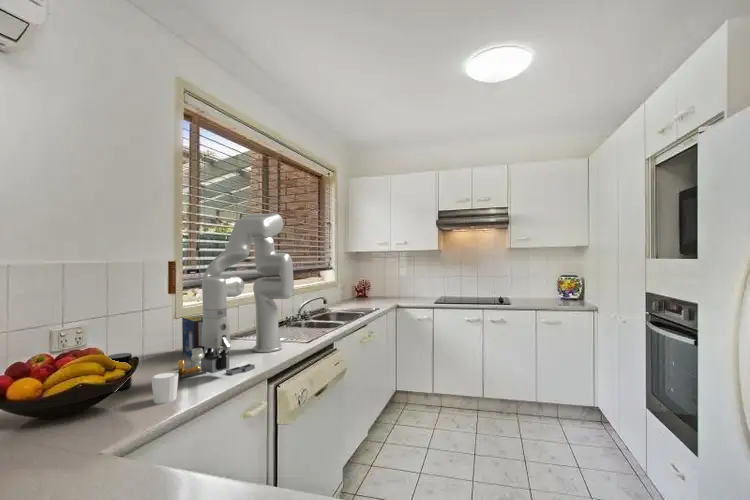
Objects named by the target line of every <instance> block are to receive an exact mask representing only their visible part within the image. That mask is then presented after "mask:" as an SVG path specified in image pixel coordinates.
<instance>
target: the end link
mask: <svg viewBox="0 0 750 500" xmlns="http://www.w3.org/2000/svg"><path fill="white" fill-rule="evenodd" d="M217 358H218V355H214V356H210V357H205V358H201V367H200V369H201V371H205V372H206V373H210V374H216V373H219V372H222V371H226V370H228V369H231V368H230V356H228V355H227V356H226V368H225V369H221V370H217Z"/></svg>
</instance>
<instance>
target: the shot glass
mask: <svg viewBox="0 0 750 500" xmlns="http://www.w3.org/2000/svg"><path fill="white" fill-rule="evenodd" d="M176 372H177V371H176ZM176 372H174V371H170V372H161V373H157V374H155V375H152V376H151V377H150V378H151V379H150V380H151V387H152V388H151V389H152V397H153V403H154V404H157V405H159V404H160V405H162V404H168V403H171V402H174V401H176V399H177V394H178V384H179V381H178V373H176Z"/></svg>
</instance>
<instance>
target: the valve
mask: <svg viewBox="0 0 750 500" xmlns="http://www.w3.org/2000/svg"><path fill="white" fill-rule="evenodd" d="M203 352H204V350H203V349H202V346H199V347H198V348H195V349H192V354H193V355H192V357H190V358H191V359H190V360H191V368H192V367H196V366H200V368H201V358H204V354H203ZM213 353H214V350H213Z"/></svg>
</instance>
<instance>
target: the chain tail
mask: <svg viewBox="0 0 750 500" xmlns="http://www.w3.org/2000/svg"><path fill="white" fill-rule="evenodd" d="M254 369H256V366H255V364H252V363H247V364H245V365H242V366H236V367H232V368H230V369H226V370H225V374H226V375H231V376H234V375H236V374H237V375H238V374H240V373H247V372H249V371H251V370H254Z"/></svg>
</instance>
